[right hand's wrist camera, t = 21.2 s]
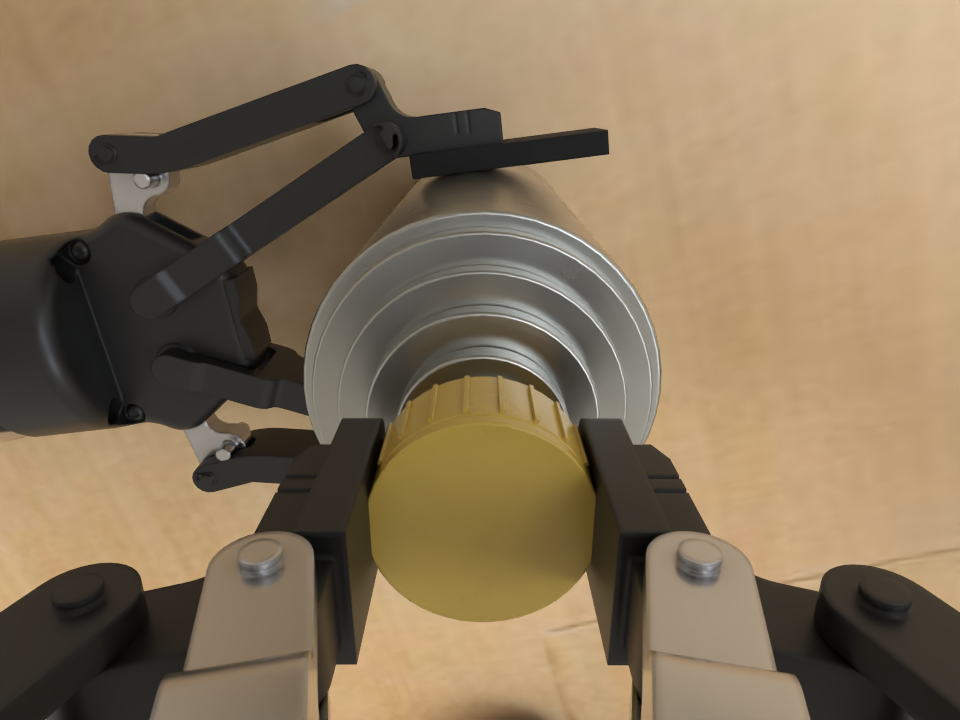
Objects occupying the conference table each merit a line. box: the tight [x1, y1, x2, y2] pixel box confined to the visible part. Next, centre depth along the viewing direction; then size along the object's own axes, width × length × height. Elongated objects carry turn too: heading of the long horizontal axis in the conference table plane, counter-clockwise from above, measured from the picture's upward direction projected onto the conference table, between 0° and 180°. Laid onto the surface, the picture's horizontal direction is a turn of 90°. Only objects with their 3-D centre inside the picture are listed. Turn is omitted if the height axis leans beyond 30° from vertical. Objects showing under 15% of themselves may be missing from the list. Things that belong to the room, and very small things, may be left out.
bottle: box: [303, 165, 661, 445], centre depth 21 cm, size 8×8×21 cm
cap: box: [368, 375, 596, 622], centre depth 11 cm, size 4×4×2 cm
